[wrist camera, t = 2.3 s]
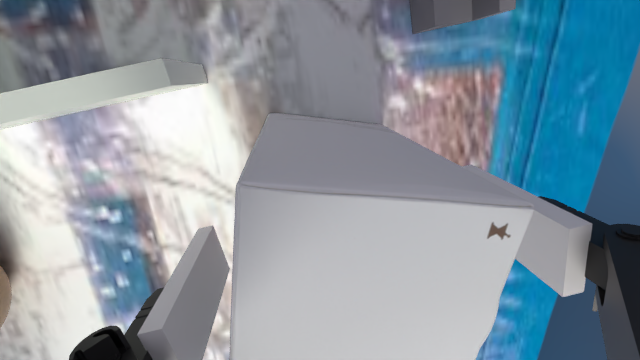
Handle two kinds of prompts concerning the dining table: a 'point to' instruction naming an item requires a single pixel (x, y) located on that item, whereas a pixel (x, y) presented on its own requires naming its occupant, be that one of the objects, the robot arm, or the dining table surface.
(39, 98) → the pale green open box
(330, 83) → the dining table surface
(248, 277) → the supplement box
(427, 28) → the clip
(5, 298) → the vase
